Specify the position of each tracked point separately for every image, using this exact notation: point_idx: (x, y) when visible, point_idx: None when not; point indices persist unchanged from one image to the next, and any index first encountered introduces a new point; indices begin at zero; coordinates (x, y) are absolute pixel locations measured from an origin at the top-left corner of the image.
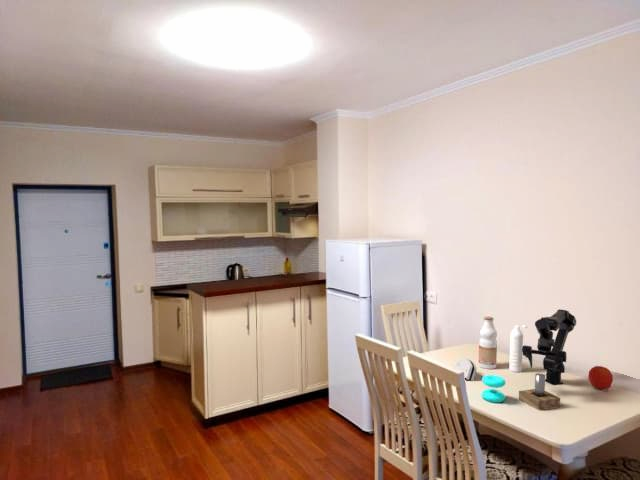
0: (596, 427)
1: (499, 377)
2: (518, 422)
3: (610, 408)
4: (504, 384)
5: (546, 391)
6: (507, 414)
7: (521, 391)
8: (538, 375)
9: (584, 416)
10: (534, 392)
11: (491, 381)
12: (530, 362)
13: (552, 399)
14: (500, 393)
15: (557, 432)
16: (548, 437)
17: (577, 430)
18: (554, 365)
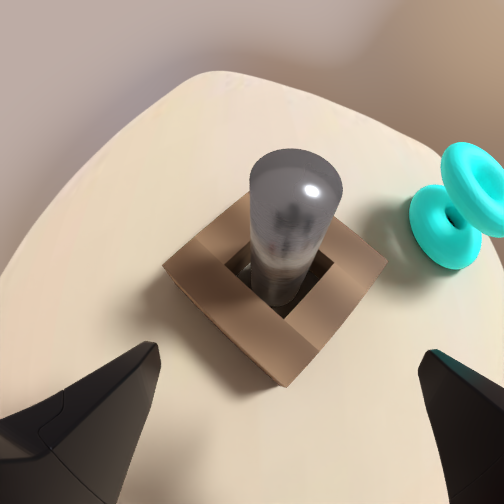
0: (94, 163)
1: (486, 193)
2: (311, 103)
3: (7, 354)
4: (442, 172)
5: (240, 343)
6: (354, 132)
7: (376, 260)
8: (309, 162)
9: (98, 226)
10: (311, 290)
11: (472, 144)
12: (475, 373)
13: (206, 227)
14: (433, 208)
15: (210, 95)
16: (233, 75)
17: (154, 122)
18: (101, 379)
